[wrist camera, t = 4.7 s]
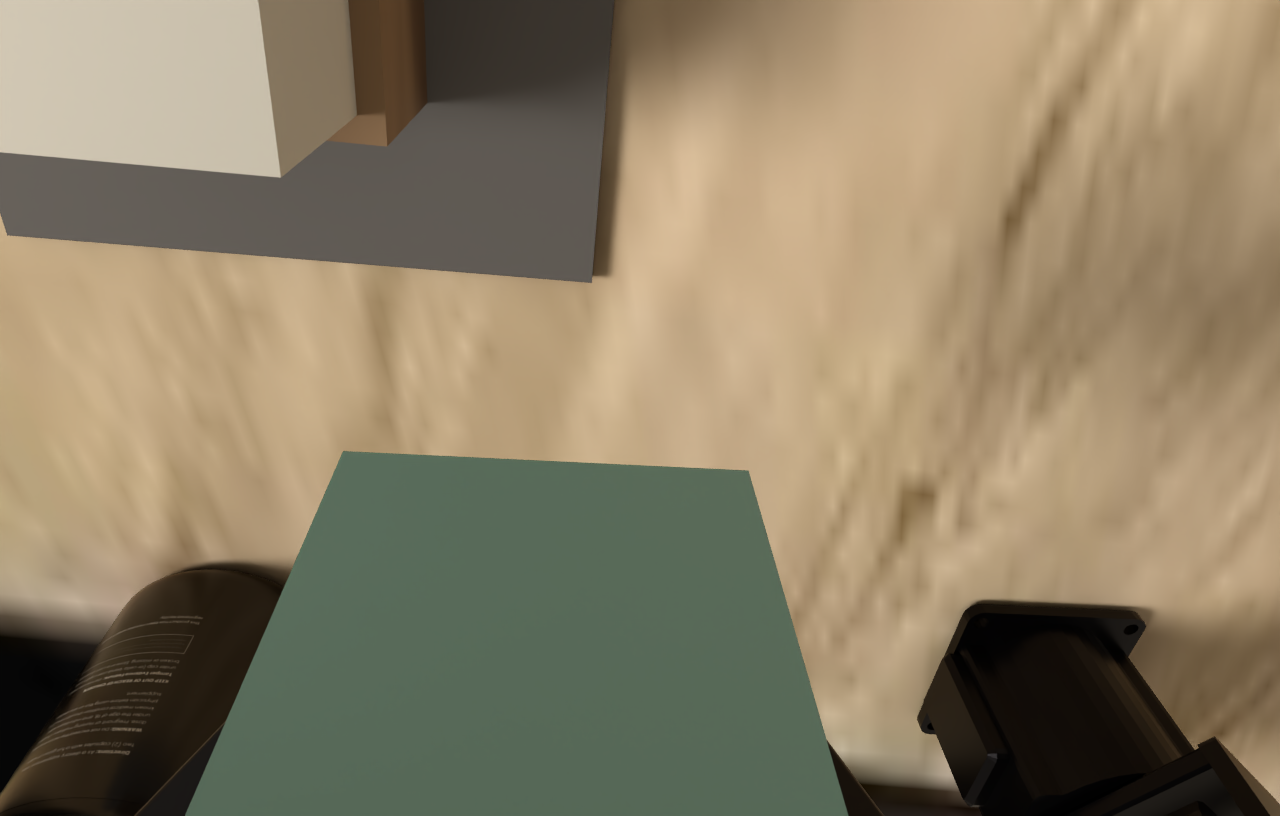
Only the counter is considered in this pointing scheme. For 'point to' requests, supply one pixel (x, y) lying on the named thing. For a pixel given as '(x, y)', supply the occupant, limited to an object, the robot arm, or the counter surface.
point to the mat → (389, 166)
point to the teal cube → (527, 652)
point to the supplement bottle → (146, 696)
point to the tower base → (385, 69)
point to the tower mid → (175, 81)
